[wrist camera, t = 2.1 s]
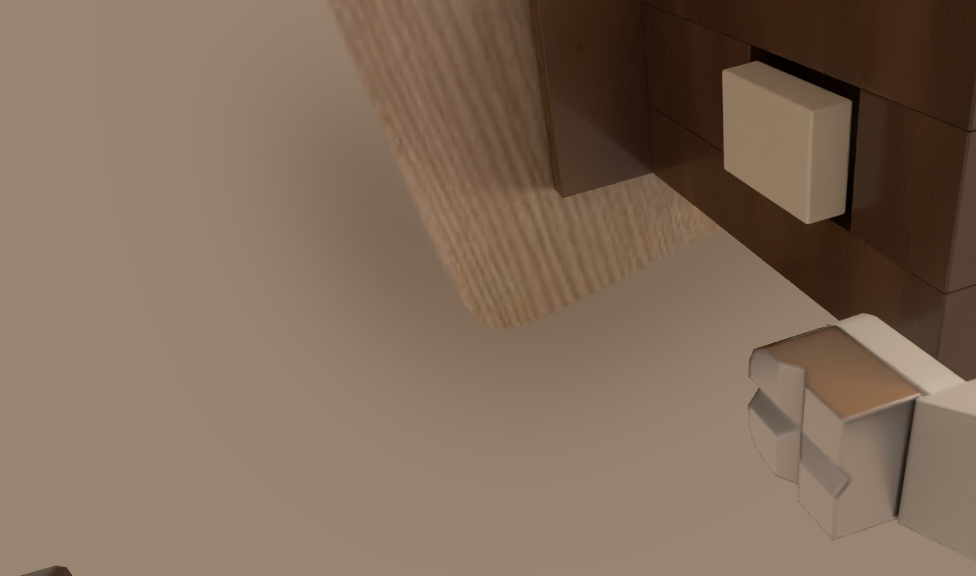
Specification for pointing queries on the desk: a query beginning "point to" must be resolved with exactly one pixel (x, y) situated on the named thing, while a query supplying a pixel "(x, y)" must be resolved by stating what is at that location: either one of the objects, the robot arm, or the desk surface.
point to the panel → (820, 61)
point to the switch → (787, 139)
